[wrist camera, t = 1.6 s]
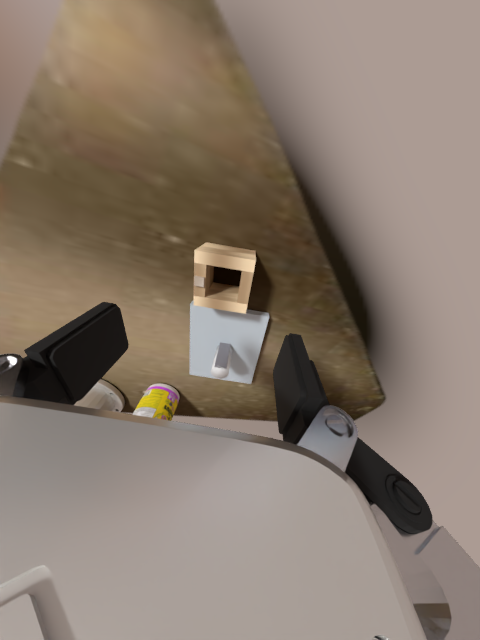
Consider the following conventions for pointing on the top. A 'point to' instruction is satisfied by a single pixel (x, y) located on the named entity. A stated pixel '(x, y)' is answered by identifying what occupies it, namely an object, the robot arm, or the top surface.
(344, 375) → the top surface
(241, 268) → the wooden hollow box
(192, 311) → the shaft block
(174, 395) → the supplement bottle
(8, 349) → the top surface
